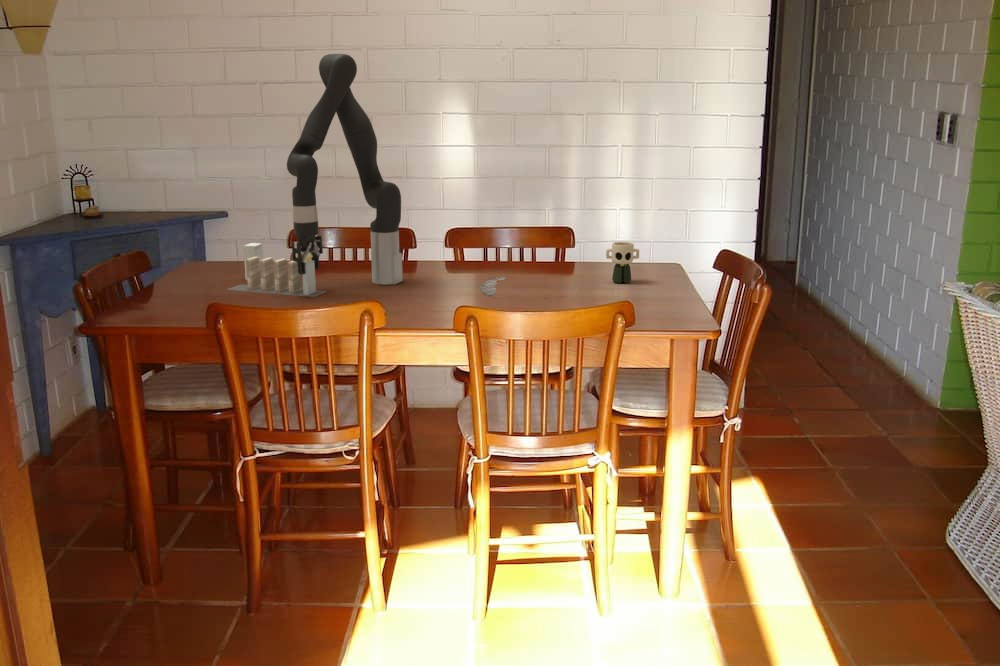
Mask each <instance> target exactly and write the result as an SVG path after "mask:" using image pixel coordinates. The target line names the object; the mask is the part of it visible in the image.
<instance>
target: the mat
mask: <svg viewBox="0 0 1000 666" xmlns="http://www.w3.org/2000/svg"><path fill="white" fill-rule="evenodd" d="M227 290H228V291H238V292H248V293H249V292H251V293H261V294H262V293H263V294H275V295H286V296H287V295H288V296H299V297H308V296H309V297H311V298H316V297H318V296H320V295H322V294H323V295H324V293H327V292H328V291H327V290H316V292H314V293H312V294H309V295H303V288H302V291H300V292H297V293H295V294H289V287H288V290H286V291H283V292H281V293H277V292H275V288H274V289H272V290H269V291H267V292H264V291H262V287H261V288H258V289H255V290H253V291H252V290H248V284H241V283H240V284H239V285H235V286H232V287H229V288H227V289H226V291H227ZM309 297H308V298H309Z"/></svg>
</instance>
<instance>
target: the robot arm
mask: <svg viewBox="0 0 1000 666" xmlns="http://www.w3.org/2000/svg"><path fill="white" fill-rule="evenodd" d="M318 71H319V75H320V78H321V79H320V80H322V83H323V85H324V87H325V89H324V92H323V94H322V96H321V98H320V99H319V100H318V102H317V103H316V104H315V106H314V108H313V109H312V110H311V112H309V115H308V117H307V118H306V121H305V123H304V126H303V128H302V131H301V134H300V137H299V139H298V140H297V141H296V143H295V145H294V146H293V148H292V150H291V151H290V153H289V155H288V158H287V161H286V169H287V171H288V173H289V174H290V175H291V176H292V177H295V178H296V185H294V186H293V188H292V193H291V197H292V221H293V222H292V223H293V234H294V236H295V237H297V241H292V242H291V253H292V258H293V261H296V262H297V265H298V273H299V274H301V275H302V274H305V273H306V272H305V258H306V256H308V253H310V254H311V255H312V256H313V257H312V260H314V264H315V270H318V269H320V256H321V254H323V253H324V251H323V240H322V239H323V238H322V235H321V234H320V232H319V229H320V228H319V216H318V208H317V198H316V197H317V196H316V190H317V189H316V188H317V183H318V177H319V176H318V175H319V168H318V163H317V160H316V159H315V157H313V156H314V154H315V153H316V151H318V150H320V149H321V148H322V147H323V145H324V142H325V140H326V137H327V134H328V131H329V129H330V126H331V125H332V122H333V120H334V117H335V115H337V118H338V120H339V123H340V126H341V129H342V131H343V135H344V137H345V140H346V143H347V146H348V148H349V151H350V154H351V157H352V160H353V162H354V165H355V168H356V170H357V174H358V177H359V181H360V185H361V189H362V192H363V196H364V200H365V201H366V203H367V204H368V206H369V207H371V208H373V209H375V211H376V212H375V213H376V215H375V219H373V221H371V222H370V224H369V225H370V226H369V227H370V251H371V252H370V253H371V254H370V255H371V256H370V257H371V280H372V281H371V282H372V283H373V284H376V285H377V284H378V285H385V286H387V285H397V284H399V283H401V282H403V279H404V278H403V254H402V253H401V252H400V229H399V228H400V227H399V226H400V223H401V219H402V196H401V195H402V194H401V191H400V188H399V187H398V185H396V184H395V183H393V182H390V181H384V179H383V176H382V175H381V171H380V169H379V165H378V159H377V156H378V139H377V136H376V132H375V129H374V128H373V124H372V122H371V120H370V117H369V116H368V115H367V113H366V112H365V110H364V109H363V107H362V106H361V104H360V103H359V102H358V101H357V100H356V98H355V96H354V94H353V92H352V89H351V86H352V84H353V83H354V80H355V79H356V76H357V71H358V66H357V63H356V61H355V59H354V58H353V57H352V56H351V55H350V54H347V53H346V54H345V53H329V54H325V55H324V56H323V57H322V58H321V59H320V61H319V65H318ZM301 251H302V252H301ZM296 254H297V257H296ZM301 256H302V258H301Z"/></svg>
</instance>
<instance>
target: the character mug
mask: <svg viewBox="0 0 1000 666" xmlns="http://www.w3.org/2000/svg"><path fill="white" fill-rule="evenodd" d="M634 244H635V243H634V242H629V241H615V242H612V243H611V248H607V249H606V250H605V258H606V259H607V260H609V259H610V260H611V261H612V263H613V264H614V267H613V272H612V278H611V280H612V281H613V282H615V283H622V282H623V283H630V282H631V281H632V273H631V272H632V271H631V266H630V264H632V263H633V261H634V260H638V259H640V248H634V247H635V246H634ZM610 252H611V255H610ZM635 252H636V253H635ZM634 253H635V254H636V255H634Z"/></svg>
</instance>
